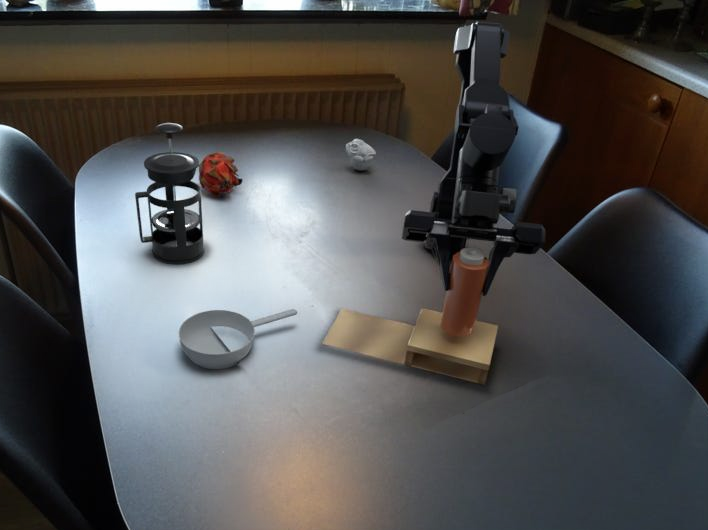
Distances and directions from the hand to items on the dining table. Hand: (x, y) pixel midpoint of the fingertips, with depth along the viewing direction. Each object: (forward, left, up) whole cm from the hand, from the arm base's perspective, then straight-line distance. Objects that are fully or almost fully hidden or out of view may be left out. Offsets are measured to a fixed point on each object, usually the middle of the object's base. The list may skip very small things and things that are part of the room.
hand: (465, 293), depth 91 cm
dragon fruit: (+5, -69, -13) cm, 70 cm away
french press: (+23, -49, -13) cm, 55 cm away
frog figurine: (-29, -66, -13) cm, 73 cm away
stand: (+3, -6, -12) cm, 14 cm away
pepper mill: (-1, -1, -7) cm, 7 cm away
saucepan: (+25, -19, -13) cm, 33 cm away
